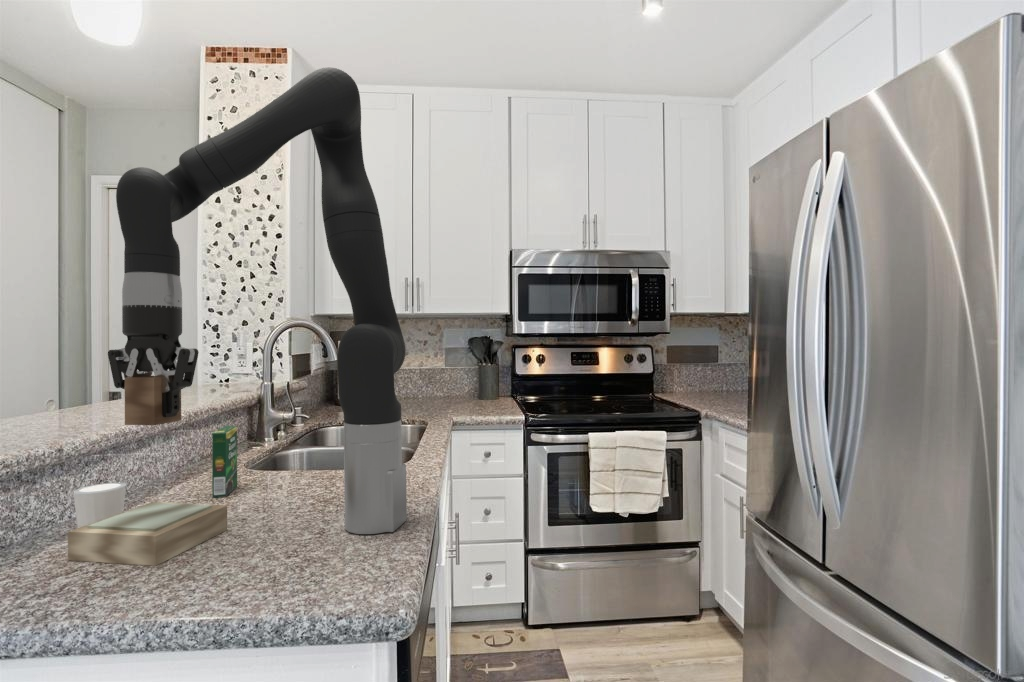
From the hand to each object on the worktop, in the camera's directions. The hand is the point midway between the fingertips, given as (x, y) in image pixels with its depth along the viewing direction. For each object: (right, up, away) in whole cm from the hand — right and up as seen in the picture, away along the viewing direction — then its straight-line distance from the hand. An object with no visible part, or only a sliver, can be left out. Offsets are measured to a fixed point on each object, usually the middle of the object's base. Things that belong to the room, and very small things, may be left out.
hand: (153, 416), depth 79 cm
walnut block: (0, -1, 0) cm, 1 cm away
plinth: (0, -19, 0) cm, 19 cm away
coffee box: (-4, -20, +28) cm, 34 cm away
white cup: (-13, -20, +6) cm, 25 cm away
